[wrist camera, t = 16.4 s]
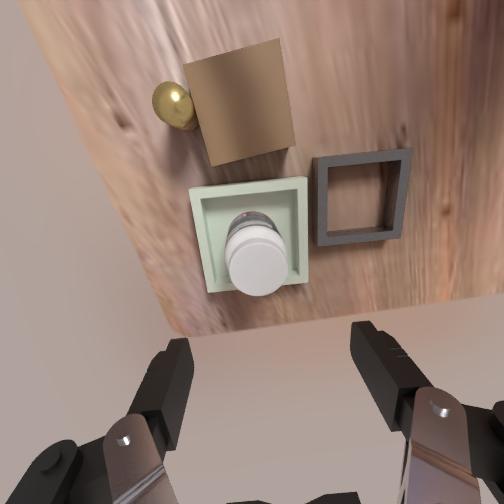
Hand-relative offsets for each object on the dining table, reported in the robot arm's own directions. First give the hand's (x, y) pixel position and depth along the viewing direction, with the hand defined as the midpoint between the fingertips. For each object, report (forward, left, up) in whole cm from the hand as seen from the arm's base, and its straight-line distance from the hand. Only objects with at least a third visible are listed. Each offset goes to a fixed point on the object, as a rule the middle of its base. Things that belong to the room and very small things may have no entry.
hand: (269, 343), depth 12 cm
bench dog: (+6, -13, -18) cm, 23 cm away
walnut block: (0, -13, -19) cm, 22 cm away
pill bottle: (0, 0, -18) cm, 18 cm away
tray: (0, 0, -18) cm, 18 cm away
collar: (-12, -3, -18) cm, 22 cm away
